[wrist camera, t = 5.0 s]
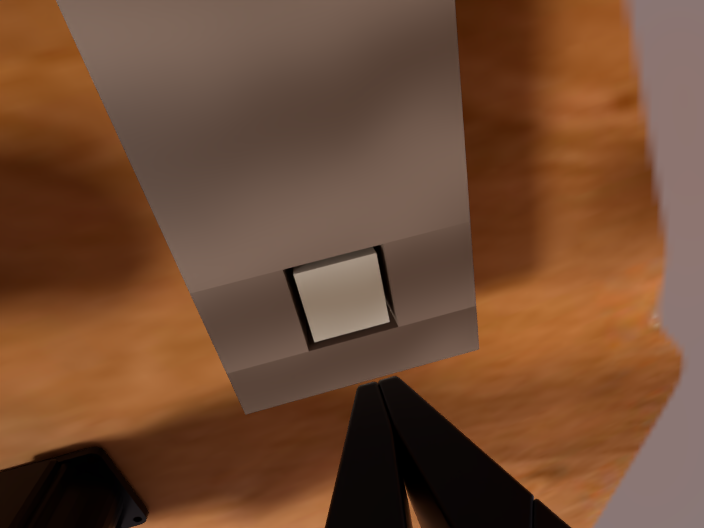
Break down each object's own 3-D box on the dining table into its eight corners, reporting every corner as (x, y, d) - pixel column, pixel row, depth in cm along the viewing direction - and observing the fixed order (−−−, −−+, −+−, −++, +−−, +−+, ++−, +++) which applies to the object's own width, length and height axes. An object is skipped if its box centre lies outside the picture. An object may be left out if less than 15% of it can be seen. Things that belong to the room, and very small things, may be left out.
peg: (366, 272, 19) (389, 322, 15) (307, 287, 18) (314, 342, 14) (354, 215, 17) (376, 252, 13) (291, 231, 17) (293, 274, 13)
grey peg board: (436, 292, 20) (479, 349, 16) (254, 341, 20) (245, 414, 15) (369, -252, 12) (422, -468, 7) (41, -196, 11) (-124, -394, 7)
